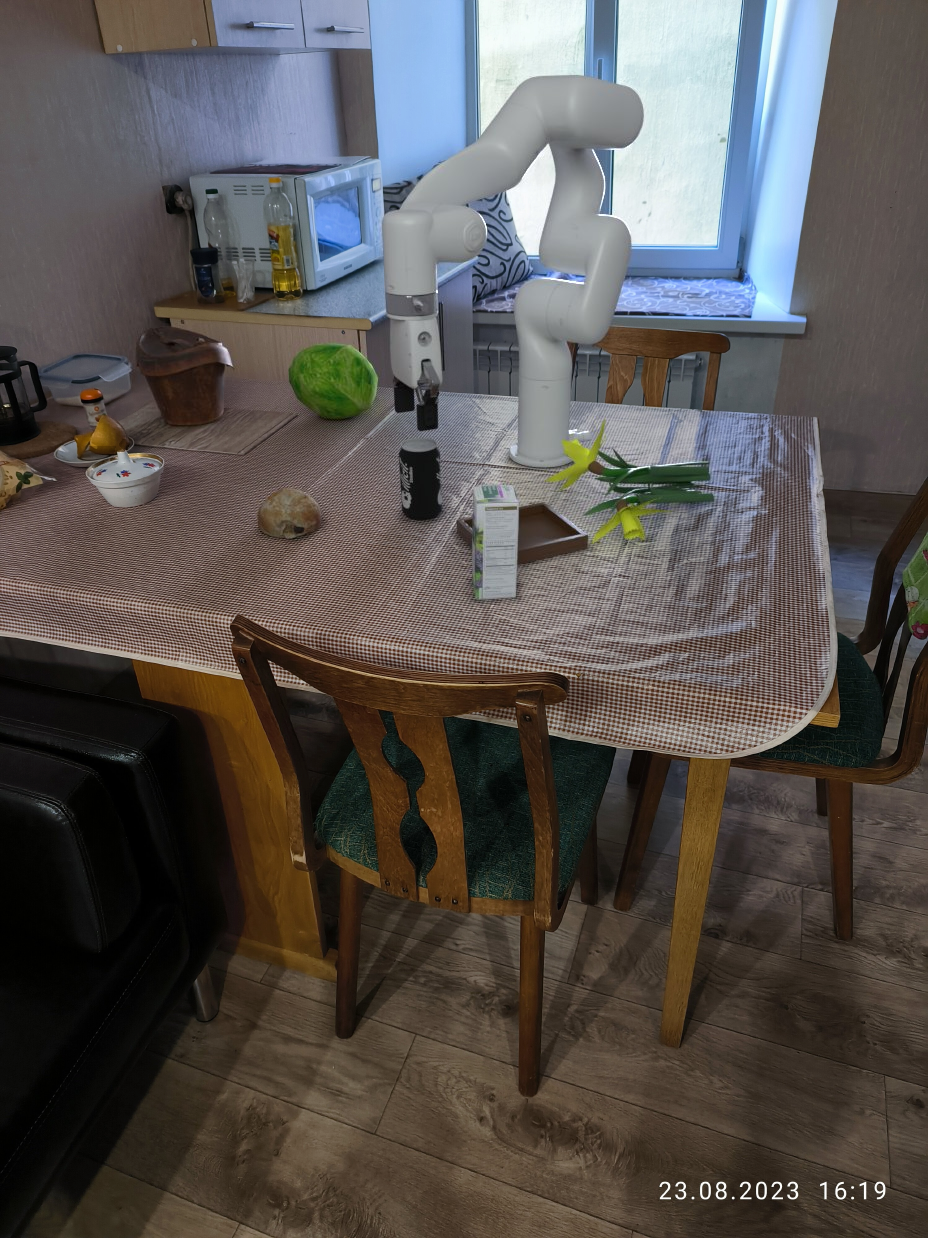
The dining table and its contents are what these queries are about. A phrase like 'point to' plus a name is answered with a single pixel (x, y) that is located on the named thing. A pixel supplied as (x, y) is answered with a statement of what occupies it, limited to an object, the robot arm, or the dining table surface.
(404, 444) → the beverage can
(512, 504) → the syrup box
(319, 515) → the bread roll
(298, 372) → the lettuce
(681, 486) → the daffodil flowers
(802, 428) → the dining table surface
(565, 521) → the tray
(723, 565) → the dining table surface
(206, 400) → the brown tapered bucket shape
